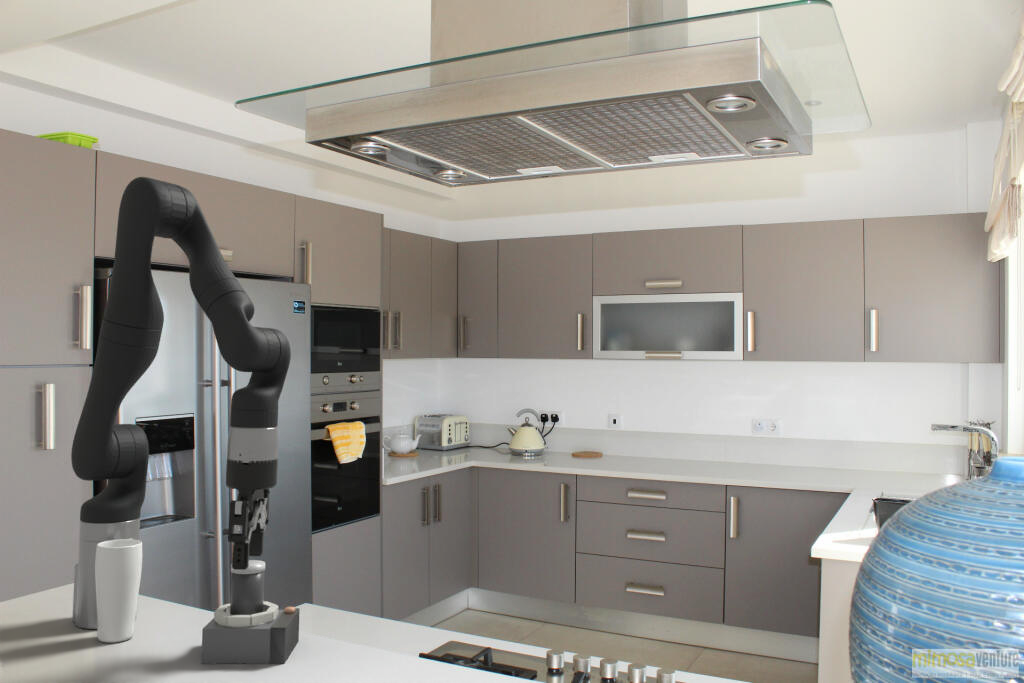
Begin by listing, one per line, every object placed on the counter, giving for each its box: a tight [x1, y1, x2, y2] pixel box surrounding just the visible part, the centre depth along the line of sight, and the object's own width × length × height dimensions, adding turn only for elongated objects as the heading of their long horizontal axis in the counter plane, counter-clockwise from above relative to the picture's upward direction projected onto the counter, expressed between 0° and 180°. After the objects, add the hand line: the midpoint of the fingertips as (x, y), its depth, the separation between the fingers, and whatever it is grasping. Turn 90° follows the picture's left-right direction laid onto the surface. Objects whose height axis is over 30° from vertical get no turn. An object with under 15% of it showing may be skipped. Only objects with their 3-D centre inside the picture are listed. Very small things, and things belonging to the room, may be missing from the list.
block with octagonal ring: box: [200, 600, 301, 665], centre depth 124 cm, size 12×10×6 cm
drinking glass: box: [95, 539, 143, 644], centre depth 129 cm, size 7×7×15 cm
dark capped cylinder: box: [229, 559, 266, 615], centre depth 124 cm, size 5×5×8 cm
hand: (247, 562), depth 125 cm, fingers open, 8 cm apart
